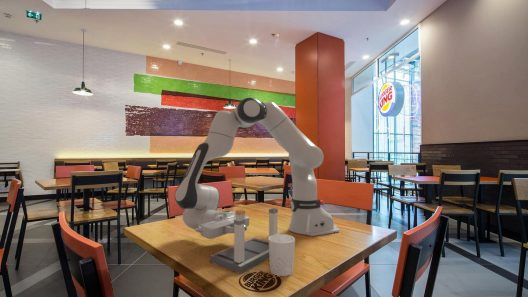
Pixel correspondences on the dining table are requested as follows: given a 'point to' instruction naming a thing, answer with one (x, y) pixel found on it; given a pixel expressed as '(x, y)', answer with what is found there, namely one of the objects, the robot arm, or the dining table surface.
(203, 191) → the robot arm
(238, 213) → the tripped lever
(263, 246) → the peg rod stand
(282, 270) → the white cup
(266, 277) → the dining table surface
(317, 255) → the dining table surface
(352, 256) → the dining table surface
